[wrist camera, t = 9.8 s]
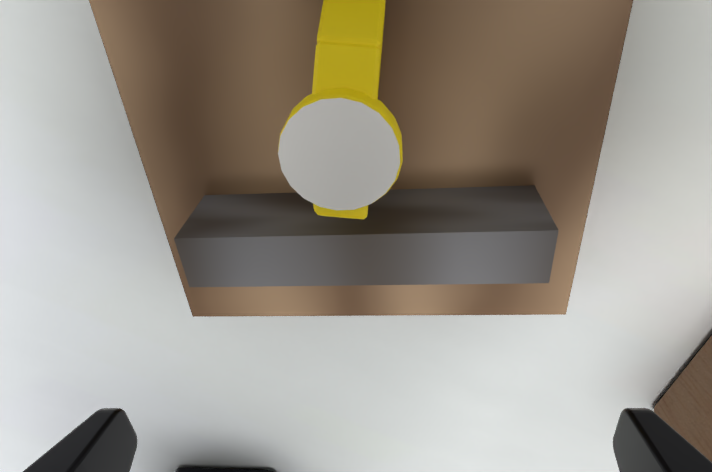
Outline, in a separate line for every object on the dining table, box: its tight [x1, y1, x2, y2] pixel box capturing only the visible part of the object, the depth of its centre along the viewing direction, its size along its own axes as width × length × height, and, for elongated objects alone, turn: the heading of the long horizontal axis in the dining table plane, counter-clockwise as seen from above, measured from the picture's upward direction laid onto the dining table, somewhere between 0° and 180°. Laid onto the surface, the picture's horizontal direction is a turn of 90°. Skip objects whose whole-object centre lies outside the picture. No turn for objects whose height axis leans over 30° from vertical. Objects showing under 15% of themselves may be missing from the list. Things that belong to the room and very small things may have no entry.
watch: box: [278, 0, 403, 220], centre depth 13 cm, size 6×3×6 cm, turn 177°
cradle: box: [89, 0, 633, 316], centre depth 15 cm, size 16×20×4 cm
